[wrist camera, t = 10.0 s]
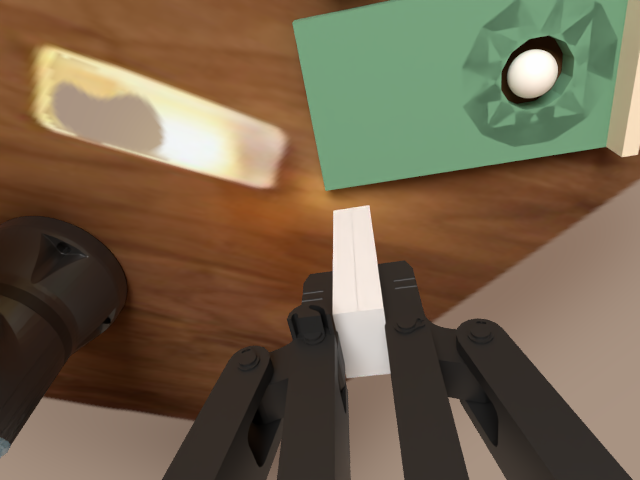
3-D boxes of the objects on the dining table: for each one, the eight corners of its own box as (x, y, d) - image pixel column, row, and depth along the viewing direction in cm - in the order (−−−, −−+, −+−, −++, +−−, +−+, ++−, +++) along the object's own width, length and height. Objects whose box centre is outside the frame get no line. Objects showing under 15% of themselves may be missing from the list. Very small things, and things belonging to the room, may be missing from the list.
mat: (326, 181, 42) (325, 202, 38) (294, 20, 35) (289, 26, 31) (608, 136, 39) (637, 154, 35) (636, -51, 32) (677, -54, 28)
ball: (499, 96, 37) (516, 107, 34) (500, 50, 36) (518, 58, 33) (543, 88, 37) (564, 98, 34) (546, 42, 35) (569, 48, 32)
